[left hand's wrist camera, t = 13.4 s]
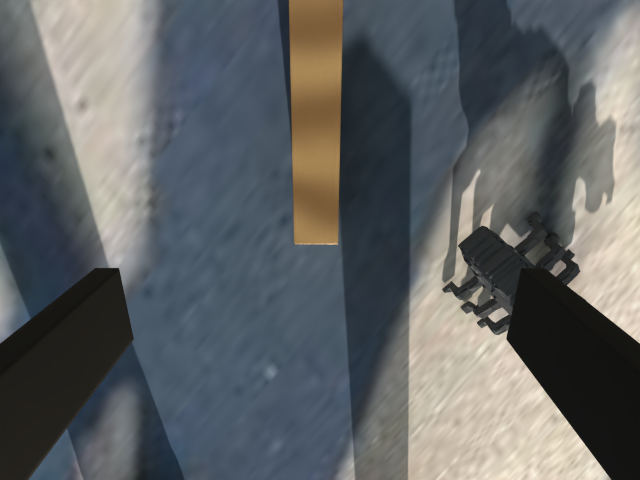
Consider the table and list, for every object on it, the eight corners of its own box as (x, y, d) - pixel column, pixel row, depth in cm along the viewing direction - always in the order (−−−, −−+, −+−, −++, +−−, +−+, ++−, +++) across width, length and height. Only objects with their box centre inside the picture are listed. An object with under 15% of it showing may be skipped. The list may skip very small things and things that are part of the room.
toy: (486, 154, 40) (608, 201, 23) (620, 308, 47) (792, 433, 30) (391, 240, 44) (436, 336, 27) (528, 372, 50) (635, 517, 33)
